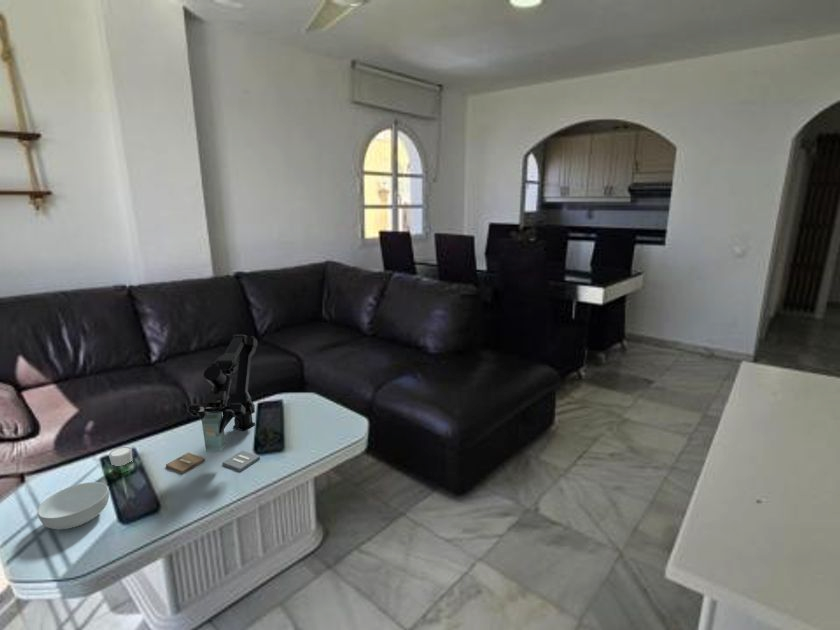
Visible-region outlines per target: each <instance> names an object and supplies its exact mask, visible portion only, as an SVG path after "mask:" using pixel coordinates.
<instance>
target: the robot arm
mask: <svg viewBox="0 0 840 630" xmlns="http://www.w3.org/2000/svg"><path fill="white" fill-rule="evenodd" d="M231 339H232V340H231V341H230V344H229V345H228V347H227V349H226V351H225V353H224V354H222V355H220V356H218V358H216V360H215V361H214V362H212V363H211V365H210V366H208V367H207V368H206V369H205V370H204V371H203V377H204V379H205V380H206V381H207V382H208V383H209V384H210V385H211V386H212V389H211V390H210V392H209V393H207V394H206V393H205V394H203V400H202V401H203V403H202V404H201V403H190V404H188V406H187V408H186V409H187V410H186V412H187V413H189V414H190V415H191V416H193V417H200V420H201V422H202V419H203V418H204V416H205V415H206V414H207V413H222V421H221V425H220V430H219V433H222V431H223V430H224V431H225V428H226V427H227V426H228V424H229V423H230V422H231V420H233V418H234V420H233V422H234V425H232V427H233V429H236V430H240V431H246V430H248V429H249V428H250V429H251V428H252V427H253V426H255V425H256V422H253V414H255V413H256V411H255V409H256V407H255V406H256V405H255V404H254V402H253V401H252V397H251V395H250V393H249V384H250V383H249V382H250V380H249V379H250V372H251V371H250V370H251V361H252V357H253V356H254V354H255V353H256V350H257V348H258V340H257V338H255V336H248V335H245V334H234V335H232V338H231ZM237 360H238V363H237ZM236 372H237V373H236ZM235 373H236V374H237V376H236V385H235V390H234V391H233V393H231V394H230V395H229V393H230V388H231V384H232V383H233V380H232V379H231V377H230V376H228V375H234V374H235ZM228 400H229V402H228ZM203 404H206V405H207V406H203ZM227 404H228V406H227ZM254 424H255V425H254Z"/></svg>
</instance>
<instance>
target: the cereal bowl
mask: <svg viewBox="0 0 840 630" xmlns="http://www.w3.org/2000/svg"><path fill="white" fill-rule="evenodd" d="M109 498H110V491H109V487H108V486H107V484H104V483H102V482H99V481H97V482H95V481H92V482H84V483H79V484H74V485H71V486H68V487H66V488H64V489H62V490H60V491H58V492H55V493H54V494H52V495H51V496H49V497H48V498H46V499H45V500H44V501H43V502H41V504H40V505H39V506H38V509H37V516H38V519H39V520H40V523H42V525H43V526H45V527H46V528H49V529H53V530H65V529H66V530H67V529H71V528H72V527H73V528H76V526H77V527H79V525H80V526H82V524H83V525H84V523H85V524H87V523H88V522H89V521H92V520H93V519H94V518H96V517H97V516H99V514H100V513H102V512H103V510H104V509H105V508H106V506H107V504H108V502H109Z"/></svg>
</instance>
